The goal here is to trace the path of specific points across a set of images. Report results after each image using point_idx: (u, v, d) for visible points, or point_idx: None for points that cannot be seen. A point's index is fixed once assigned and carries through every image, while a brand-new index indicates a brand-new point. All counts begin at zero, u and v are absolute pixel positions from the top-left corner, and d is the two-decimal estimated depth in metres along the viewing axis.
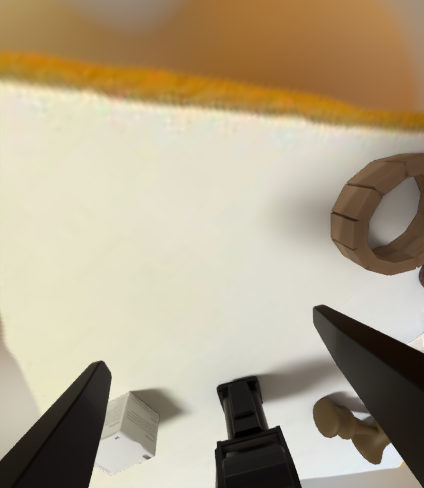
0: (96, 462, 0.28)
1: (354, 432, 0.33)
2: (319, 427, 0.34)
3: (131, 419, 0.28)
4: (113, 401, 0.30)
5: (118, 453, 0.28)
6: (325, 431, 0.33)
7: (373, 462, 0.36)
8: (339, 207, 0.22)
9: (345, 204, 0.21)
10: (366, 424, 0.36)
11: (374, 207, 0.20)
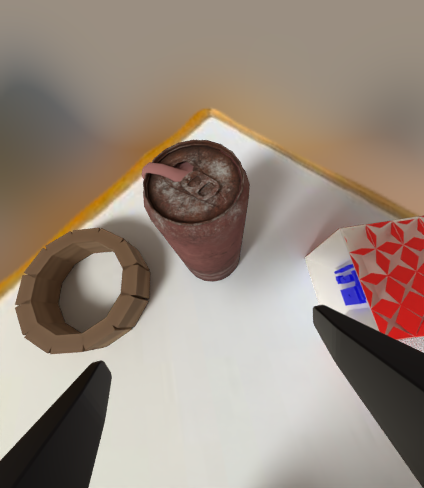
0: None
1: None
2: None
3: None
4: None
5: None
6: None
7: None
8: None
9: None
10: None
11: (31, 312, 0.20)
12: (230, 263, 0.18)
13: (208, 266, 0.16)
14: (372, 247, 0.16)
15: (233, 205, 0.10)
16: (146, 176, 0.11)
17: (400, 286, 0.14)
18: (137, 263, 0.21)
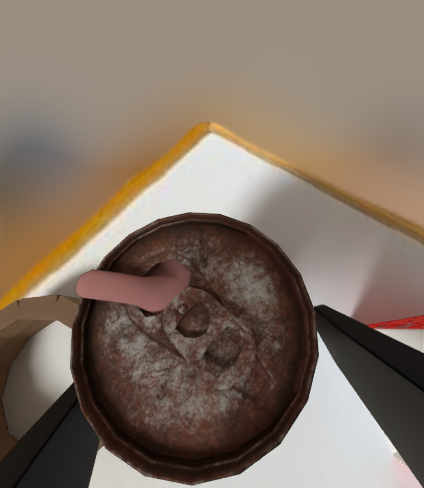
0: None
1: None
2: None
3: None
4: None
5: None
6: None
7: None
8: None
9: None
10: None
11: None
12: None
13: None
14: None
15: (298, 410, 0.04)
16: (82, 306, 0.05)
17: None
18: None
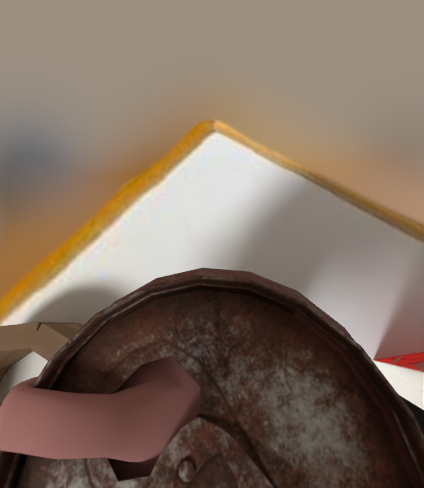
0: None
1: None
2: None
3: None
4: None
5: None
6: None
7: None
8: None
9: None
10: None
11: None
12: None
13: None
14: None
15: None
16: (1, 464, 0.03)
17: None
18: None
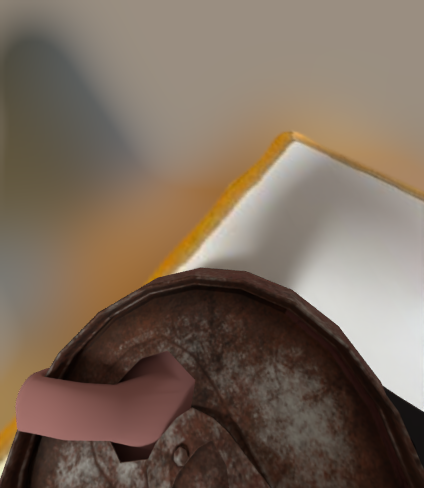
0: None
1: None
2: None
3: None
4: None
5: None
6: None
7: None
8: None
9: None
10: None
11: None
12: None
13: None
14: None
15: None
16: (19, 442, 0.03)
17: None
18: None
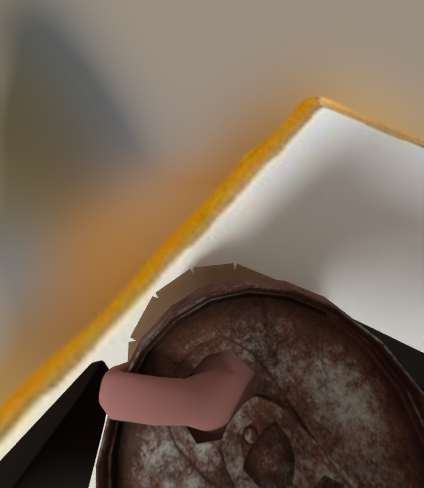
0: None
1: None
2: None
3: None
4: None
5: None
6: None
7: None
8: None
9: None
10: None
11: None
12: None
13: None
14: None
15: None
16: (109, 430, 0.04)
17: None
18: None
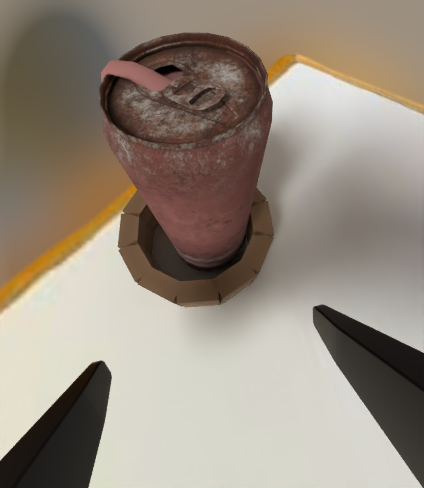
0: None
1: None
2: None
3: None
4: None
5: None
6: None
7: None
8: None
9: None
10: None
11: (141, 255, 0.16)
12: (233, 244, 0.14)
13: (204, 245, 0.12)
14: None
15: (250, 118, 0.06)
16: (106, 80, 0.07)
17: None
18: (264, 201, 0.17)
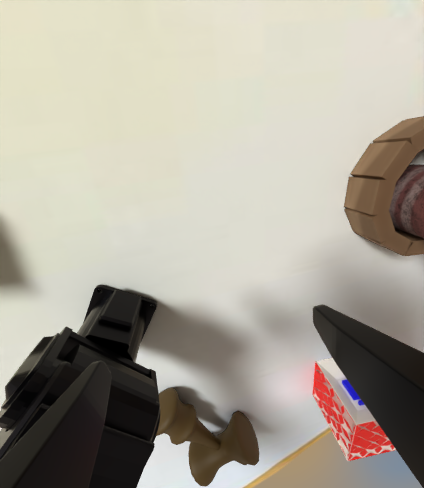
0: None
1: (186, 437, 0.26)
2: None
3: None
4: None
5: None
6: None
7: (199, 482, 0.29)
8: (386, 136, 0.18)
9: (398, 131, 0.18)
10: (209, 434, 0.30)
11: None
12: (422, 231, 0.17)
13: None
14: None
15: None
16: None
17: (378, 431, 0.24)
18: None
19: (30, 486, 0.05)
